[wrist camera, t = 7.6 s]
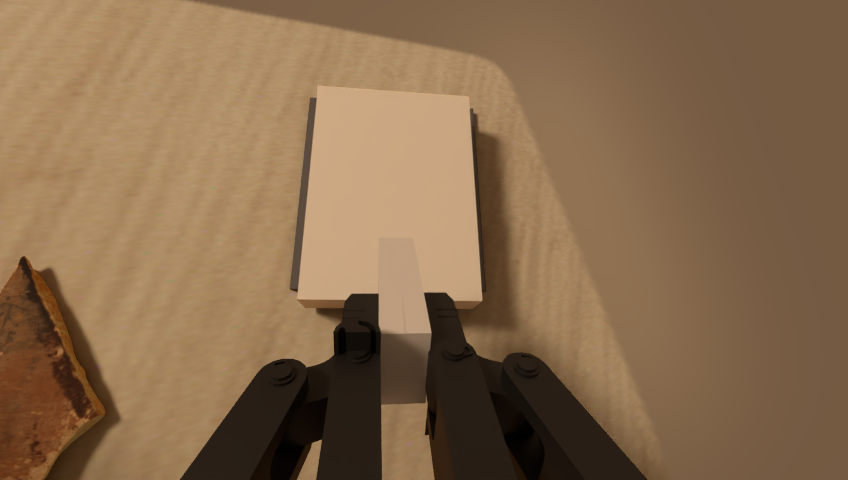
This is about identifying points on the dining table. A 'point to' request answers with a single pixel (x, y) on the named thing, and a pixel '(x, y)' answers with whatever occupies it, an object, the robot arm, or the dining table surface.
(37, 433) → the shard
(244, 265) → the dining table surface
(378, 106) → the glazed tile
